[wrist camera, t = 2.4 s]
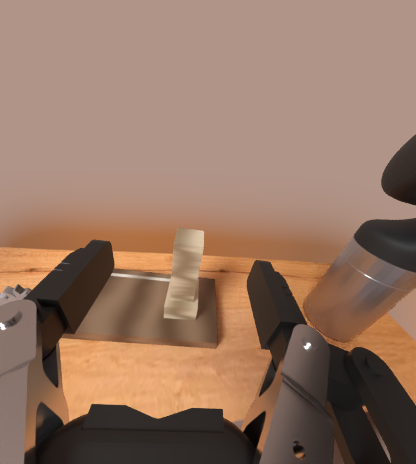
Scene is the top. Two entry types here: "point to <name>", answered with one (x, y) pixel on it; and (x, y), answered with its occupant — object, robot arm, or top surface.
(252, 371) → the top surface
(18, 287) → the caliper
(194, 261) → the beige tall block
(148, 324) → the board
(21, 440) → the robot arm
